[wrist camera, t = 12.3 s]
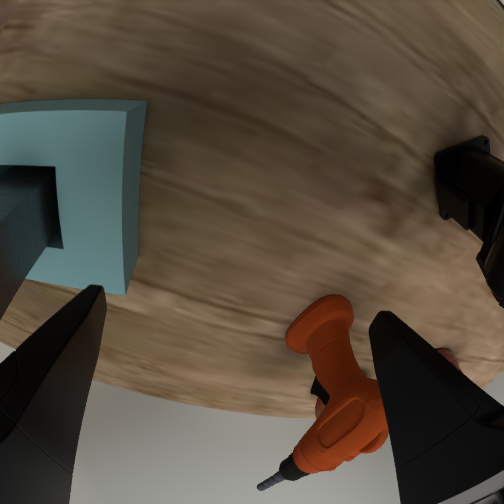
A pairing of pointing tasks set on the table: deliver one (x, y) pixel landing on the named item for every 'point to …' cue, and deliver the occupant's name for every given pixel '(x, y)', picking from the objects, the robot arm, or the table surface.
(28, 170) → the grey t-shaped bar
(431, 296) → the table surface
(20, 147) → the block
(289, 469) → the toy drill
